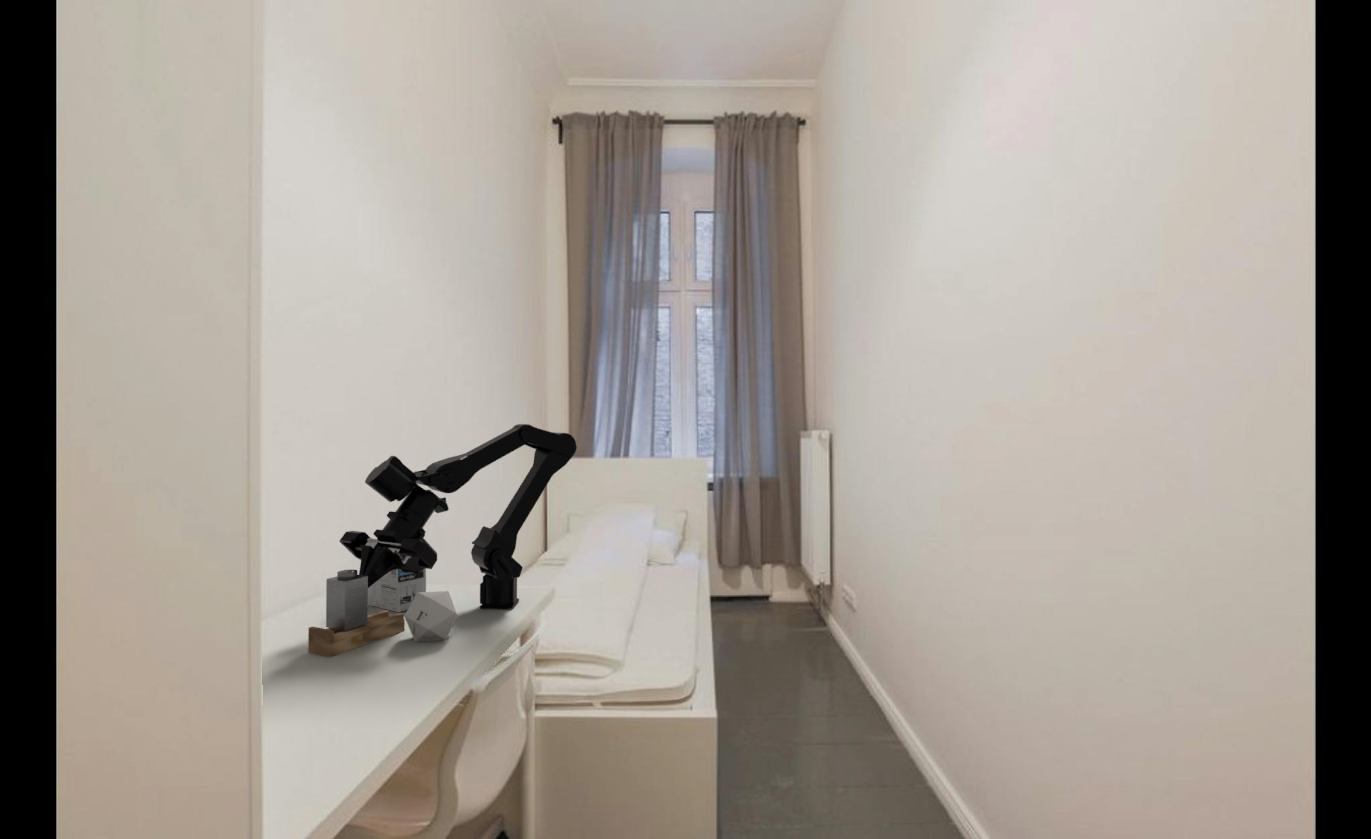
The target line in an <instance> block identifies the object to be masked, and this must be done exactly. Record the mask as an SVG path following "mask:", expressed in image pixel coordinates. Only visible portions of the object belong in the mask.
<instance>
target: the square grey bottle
mask: <svg viewBox="0 0 1371 839" xmlns="http://www.w3.org/2000/svg"><path fill="white" fill-rule="evenodd" d="M336 573H337V576H334V577H329V578H326V582H325V583H326V588H325V589H326V590H325V591H326V598H325V601H326V603H325V604H326V605H325V609H326V611H325V613H326V614H325V628H333V629H334V633H339V632H342V631H346V630H349V629H352V628H355V627H358V626H361V625H364V624H367V623H368V616H369V614H368V612H369V611H368V609H369V608H368V607H369V605H368V576H363V575H359V574H358V569H343V570H339V571H337V572H336Z"/></svg>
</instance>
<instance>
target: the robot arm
mask: <svg viewBox="0 0 1371 839" xmlns="http://www.w3.org/2000/svg"><path fill="white" fill-rule="evenodd" d="M576 443H577V442H576V439H575V438H574V436H573V435H572V434H570V433H567V432H552V431H549V430H544V429H542V428H539V427H535V426H533V425H531V424H529V423H528V424H527V423H525V424H524V423H518V424H515V425H514V426H512V428H510V429H508V430H507V431H504V432H502V433H501V434H499V435H496V436H495V437H493V438H491V439H490V440H487V441H486V442H484V443H482V444H480V445H479V446H476V447H474V448H473V449H470V450H468V451H467V452H465V453H461V454H459V455H454V456H450V457H447V458H444V459H443V458H442V459H440V460H438V461H434V462H432V463H431V464H429V465H428V466H427V467H426V469H422V470H418V471H412V470H411V469H410V468H409V467H407V466H406V464H404V463H403V462H402V461H401V459H399V458H398V457H397V456H395V455H390V456H389V457H388V458H387V459H386V460H384V461H383V462H382V463H380V464H379V465H378V466H375V467H374V468H373V469H371V470H372V471H370V472H369V474H368V475H367V476H366V479H365V480H364V483H365V484H366V485H368V486H369V487H370V488H371V489H372V490H374V492H377V493H378V494H379V495H380V496H381V497H383V498H384V499H385V500H386V501H387V502H389V503H392V502H395V501H397V502H400V501H402V502H401V504H400V505H398V506H399V507H397V509H396V510H395V511H388V512H387V514H386V517H387V518H388V519H389V520H388V522H387V523H386V524H385V525H384V527H383V528H382V529H375V531H374V532H373V535H374V536H375V538H373V537H371V536H369V534H367V533H366V532H365V531H357V530H349V531H346V532H344V534H343V535H342V536H341V538H340V539H339V543H340V544H341V545H343V547H345V549H346V550H347V551H348V552H349V553H351V554H352V555H353V557H354V558H356V559H358V560H360V566H359V573H358V575H363V576H368V588H369V587H370V586H371V585H373V584H374V583H375V582H377V581H378V580H379V579H380V578H382V577H383V576H384V575H386V574H387V573H388V572H390V571H392V570H396V569H401V571H403V572H405V573H408V572H410V573H415V574H419V573H420V572H421V571H422V570H424V569H425V568H426V570H427V569H428V570H433V567H434V565H435V564H436V563H437V561H438V552H437V551H436V550H435V548H433V547H432V546H431V544H430V543H429V542H428V541H427V540H426V539H425V538H424V537H426V530H425V529H424V527H425V526H426V525H427V522H429V519H430V518H431V516H432V515H433V513H436V514H439V513H444V512H448V511H449V509H450V508H449V505H448V503H447V498H446V497H439V496H438V495H437V494H436V493H435V492H440V493H444V494H452V493H455V492H457V491H458V490H460V489H461V488H462V487H463V486H465V485H466V484H467V483H468V482H469V481H471V479H472V478H473V477H474V476H475V475H476V474H477V473H478V472H480V470H482V469H484V468H486V467H488V466H489V465H491V464H493V463H495V462H496V461H498V460H500V459H502V458H503V457H505V456H507V455H508V454H509V455H510V453H512V452H514V451H516V450H518V449H520V448H521V447H523V446H526V447H529V448H531V449H535V451H534V456H533V463H532V466H531V468H530V469H529V471H528V473H527V474H526V475H525V477H524V479H523V480H522V482H521V484H520V485H519V487H518V488H517V490H516V492H515V494H514V495H513V497H512V498H511V500H510V502H509V503H508V505H507V506H506V508H505V510H504V511H503V512H502V515H501V516H500V518H499V519H498V521H497V522H496V523H495V524H494V525H493V526H491V527H488V526H485V525H483V526H482V527H481V529H480V531H479V533H478V535H477V537H476V538H475V539H474V540H473V541H472V542H471V544H472V545H473V546H472V548H471V550H470V551H471V552H470V555H471V559H472V561H473V563H474V564H476V566H478V568H479V570H480V573H481V574H484V575H482V582H481V583H479V604H480V606H479V609H480V610H512V609H514V607H516V605H517V604H518V603H519V602H520V598H518V578H520V576H521V574H522V571H523V566H522V565H521V564H520V562H518V561H517V560H516V559H515V558H513V555H514V553H515V550H516V547H517V539H518V534H519V532H520V530H521V529H522V527H523V525H524V524H525V522H526V520H527V519H528V518H529V515H530V514H531V512H532V510H533V509H534V507H535V505H536V503H537V502H538V501H539V499H540V497H541V495H542V494H543V493H544V491H545V489H546V487H547V486H548V484H549V482H550V481H551V478H552V477H553V476H554V475H555V474H556V473H557V472H558V471H560V470H561V469H563V468H564V467H565V466H566V465H567V464H568V463H569V461H570V460H572V458H573V457H574V455H575V454H576V451H577V450H578V446H577V444H576ZM421 485H422V486H427V488H429V489H424V488H423V487H422V486H421ZM433 491H435V492H433Z"/></svg>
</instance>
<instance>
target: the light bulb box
mask: <svg viewBox="0 0 1371 839" xmlns="http://www.w3.org/2000/svg"><path fill="white" fill-rule="evenodd" d="M418 592H427V568H425V569H424V570H422V571H421V572H420V573H419V574H415V573H410V572H408V573H405V572H403V571H401V569H396V570H392V571H390V572H388V573H387V574H386V575H384V576H383V577H382V578H380V579H379V580H378V581H377V582H375V583H374V584H373V585H371V586H370V587H369V588H368V606H372V607H376V608H380V609H383V610H386V611H391V612H395V613H401V612H405V611H408V609H409V607H410V605H411V603H412V602H413V600H414V598H415V596H416V594H417V593H418Z"/></svg>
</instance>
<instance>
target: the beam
mask: <svg viewBox="0 0 1371 839" xmlns="http://www.w3.org/2000/svg"><path fill="white" fill-rule="evenodd" d="M404 618H405V614H404V613H401V612H397V613H395V614H391V615H390V610H387V609H384V610H383V611H379V612H375V613H372V614H368V623H367V624H364V625H361V626H358V627H355V628H352V629H349V630H346V631H342V632H339V633H334V629H333V628H328V627H326V628H323V627H317V626H310V627H308V638H307V639H308V640H307V642H308V648H307V650H308V652H307V653H309V654H313V653H314V654H315V655H319V656H323V657H327V658H331V657H334V656H337V655H340V654H342V653H345V652H349V651H351V650H354V649H357V648H359V647H362V646H365V645H368V644H371V643H373V642H376V641H378V640H382V639H384V638H387V637H390V636H393V635H396V634H398V633H401V632H405V621H406V619H404Z"/></svg>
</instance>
